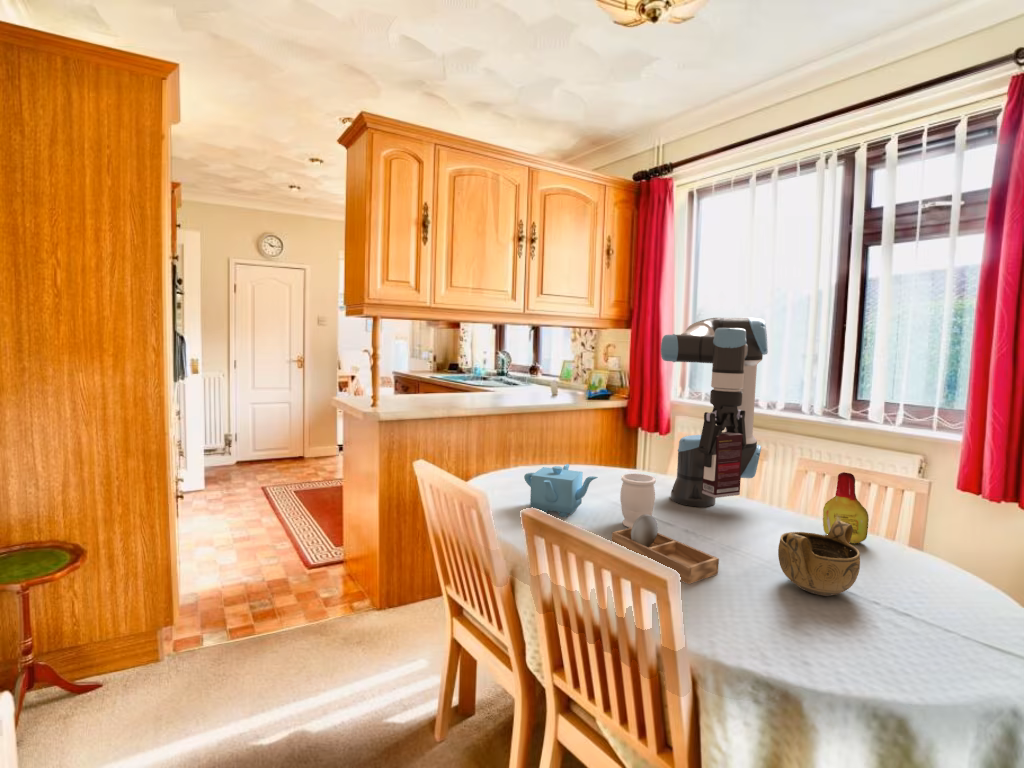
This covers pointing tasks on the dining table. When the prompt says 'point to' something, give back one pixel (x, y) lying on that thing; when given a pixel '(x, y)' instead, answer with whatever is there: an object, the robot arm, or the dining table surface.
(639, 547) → the tray
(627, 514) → the jar
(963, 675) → the dining table surface
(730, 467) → the supplement box
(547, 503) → the teakettle
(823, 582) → the ceramic bowl
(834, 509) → the bottle
